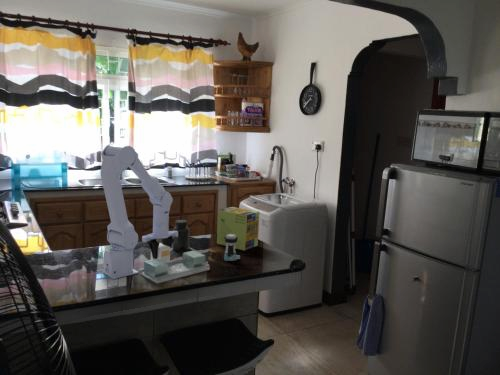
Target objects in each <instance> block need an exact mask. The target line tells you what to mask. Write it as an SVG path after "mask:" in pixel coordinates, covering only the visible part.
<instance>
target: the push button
mask: <svg viewBox="0 0 500 375" xmlns="http://www.w3.org/2000/svg"><path fill="white" fill-rule="evenodd" d="M224 239H225V242H226V246H225V251H224V252H223V260H224V262H229V261H237V260H238V259H239V260H240V259H241V257H239V255H237V252H236V248H235V243H236V242H237V239H238V237H236V235H234V234H227V236H225V237H224ZM228 244H229V245H228Z"/></svg>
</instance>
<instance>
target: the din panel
mask: <svg viewBox="0 0 500 375" xmlns="http://www.w3.org/2000/svg"><path fill="white" fill-rule="evenodd" d="M210 269H211V268H210V264H206V255H205V254H203V253H202V252H201V253H200V252H198V251H197V250H191V251H189V250H188V251H184V252H182V259H178V260H174V261H170V262H169V263H165V262H163V261H161V260H159V259H153V260H151V259H148V260H145V261H143V267H142V268H139V275H140V276H142V277H144V278H146V279H148V280H149V281H151V282H153V283H155V284H161V283H165V282H169V281H173V280H175V279H179V278H184V277H186V276H191V275H194V274H199V273H202V272H206V271H209V270H210Z"/></svg>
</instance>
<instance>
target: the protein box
mask: <svg viewBox="0 0 500 375" xmlns="http://www.w3.org/2000/svg"><path fill="white" fill-rule="evenodd" d="M217 214H218V215H217V235H216V244H217V245H220V246H225V247H226V242H225V239H224V237H225V236H227V234H234V235H236V237H238V239H237V242H236V243H235V250H236V249H237V250H240V251H247V250H250V249H252V247H253V248H255V247H258V246H259V230H260V228H259V227H260V211H258V210H251V209H247V208H241V207H234V206H231V207H230V206H229V207H225V208H221V209H218V212H217ZM228 245H229V244H228Z"/></svg>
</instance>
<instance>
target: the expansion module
mask: <svg viewBox="0 0 500 375" xmlns="http://www.w3.org/2000/svg"><path fill="white" fill-rule="evenodd" d="M153 259H154V258H153V257H152V252H151V251H150V260H153ZM157 259H159V260H161V261H163V262H165V263H169V262H171V247H169V246H166V245H164V244H163V243H162V242H159V247H158V257H157Z"/></svg>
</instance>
